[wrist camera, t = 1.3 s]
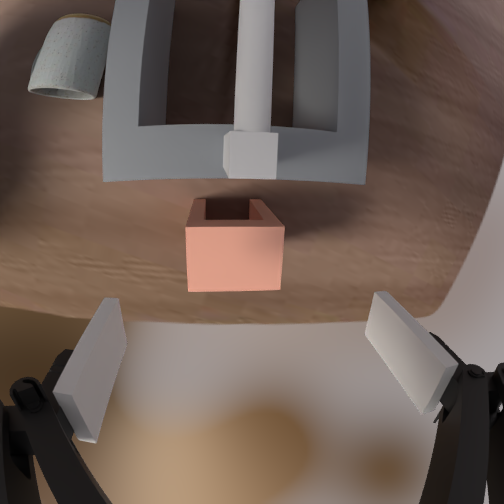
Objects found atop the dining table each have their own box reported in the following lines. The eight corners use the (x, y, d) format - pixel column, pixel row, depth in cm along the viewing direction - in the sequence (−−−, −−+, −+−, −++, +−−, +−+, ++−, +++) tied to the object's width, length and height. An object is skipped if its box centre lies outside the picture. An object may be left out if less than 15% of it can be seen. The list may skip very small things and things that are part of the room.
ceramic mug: (126, 32, 24) (103, 6, 16) (106, 101, 26) (76, 91, 19) (48, 35, 22) (15, 18, 15) (31, 99, 24) (-8, 94, 17)
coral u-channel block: (194, 244, 33) (188, 291, 23) (194, 199, 31) (185, 227, 21) (258, 244, 34) (280, 289, 23) (260, 199, 32) (284, 227, 22)
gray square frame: (141, 167, 29) (56, 202, 12) (152, 3, 23) (107, -101, 5) (312, 169, 32) (422, 205, 14) (316, 11, 25) (405, -73, 8)
